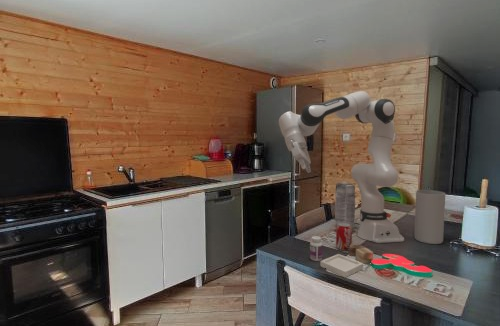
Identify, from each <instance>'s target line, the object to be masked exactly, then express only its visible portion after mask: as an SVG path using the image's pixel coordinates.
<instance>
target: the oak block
mask: <svg viewBox="0 0 500 326" xmlns="http://www.w3.org/2000/svg"><path fill="white" fill-rule="evenodd" d="M355 260H356V261H359V262H361V263H363V264H365V265H371V264H370V263H371V261H372V260H374V252H373V251H372V250H371V249H369V248H367V247H364V248H360V249H356V256H355Z"/></svg>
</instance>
